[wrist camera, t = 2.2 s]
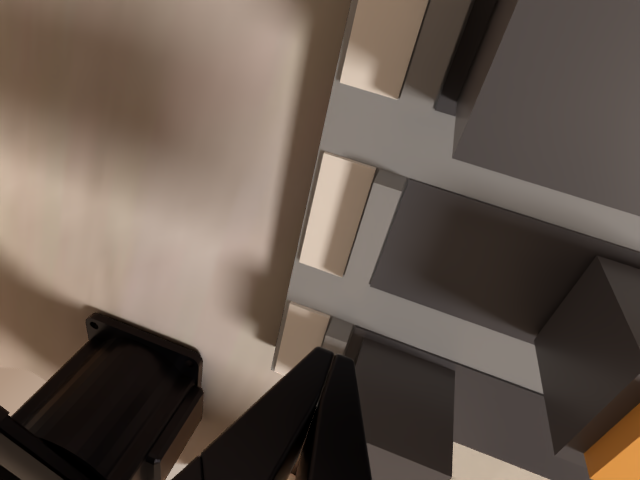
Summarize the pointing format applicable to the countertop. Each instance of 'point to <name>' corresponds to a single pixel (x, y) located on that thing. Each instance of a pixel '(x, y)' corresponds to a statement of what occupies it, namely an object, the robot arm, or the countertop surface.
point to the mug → (291, 477)
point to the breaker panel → (464, 215)
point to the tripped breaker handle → (595, 372)
